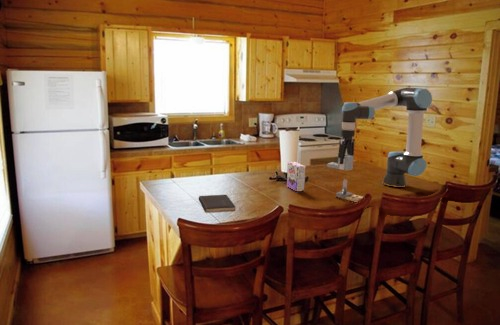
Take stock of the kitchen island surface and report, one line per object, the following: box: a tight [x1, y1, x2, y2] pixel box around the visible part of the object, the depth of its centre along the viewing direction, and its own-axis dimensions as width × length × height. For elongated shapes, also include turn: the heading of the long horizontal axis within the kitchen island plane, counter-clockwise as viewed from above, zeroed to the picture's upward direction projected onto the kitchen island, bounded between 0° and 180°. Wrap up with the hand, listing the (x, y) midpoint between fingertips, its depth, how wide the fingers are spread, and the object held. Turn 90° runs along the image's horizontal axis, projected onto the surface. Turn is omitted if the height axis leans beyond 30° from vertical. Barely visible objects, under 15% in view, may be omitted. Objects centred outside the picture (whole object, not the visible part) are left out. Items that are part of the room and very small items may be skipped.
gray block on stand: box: [335, 178, 354, 198], centre depth 236 cm, size 7×7×11 cm
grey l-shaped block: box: [326, 153, 354, 171], centre depth 237 cm, size 6×13×8 cm, turn 47°
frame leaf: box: [346, 193, 364, 202], centre depth 232 cm, size 9×7×2 cm
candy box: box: [286, 161, 306, 192], centre depth 251 cm, size 14×6×16 cm, turn 21°
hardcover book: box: [198, 194, 236, 212], centre depth 218 cm, size 16×23×2 cm
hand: (344, 168), depth 235 cm, fingers closed on grey l-shaped block, 6 cm apart
